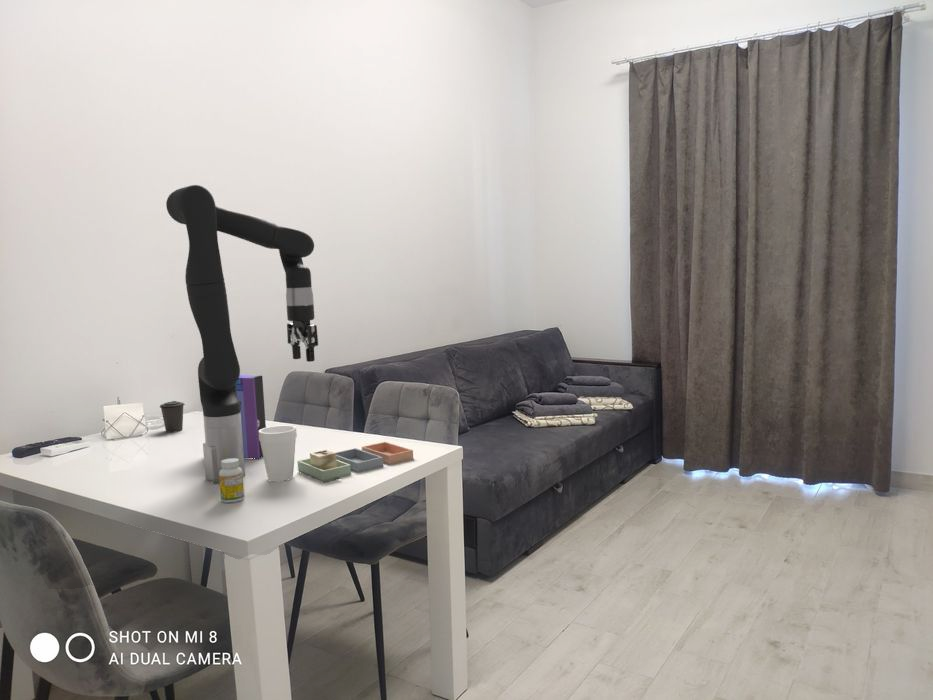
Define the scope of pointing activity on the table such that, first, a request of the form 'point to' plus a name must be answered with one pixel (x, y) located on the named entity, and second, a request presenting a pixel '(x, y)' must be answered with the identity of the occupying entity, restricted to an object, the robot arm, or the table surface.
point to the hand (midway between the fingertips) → (303, 360)
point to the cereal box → (251, 413)
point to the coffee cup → (172, 415)
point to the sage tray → (324, 475)
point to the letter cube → (323, 459)
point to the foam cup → (278, 451)
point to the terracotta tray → (389, 452)
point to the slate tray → (359, 459)
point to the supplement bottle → (231, 481)
